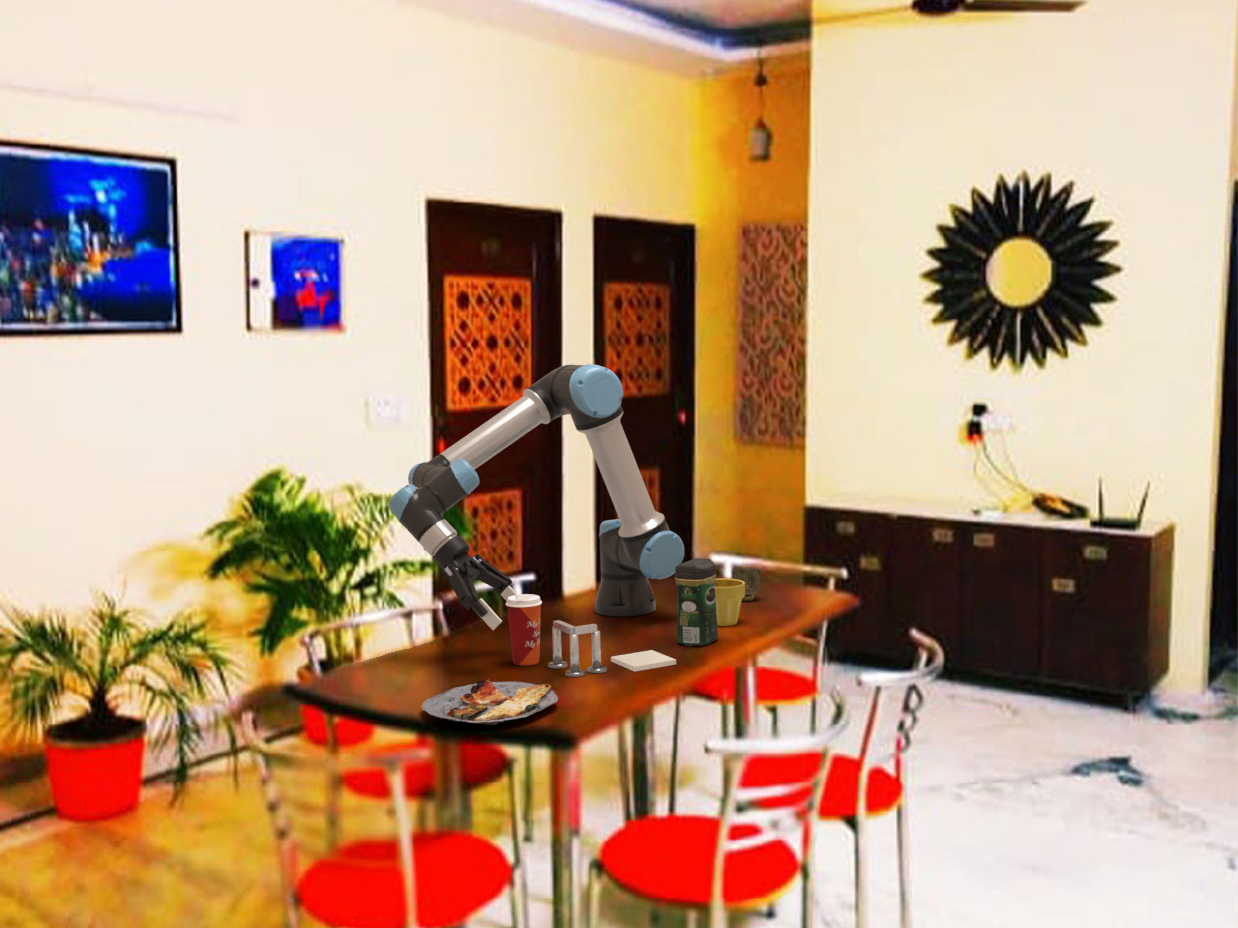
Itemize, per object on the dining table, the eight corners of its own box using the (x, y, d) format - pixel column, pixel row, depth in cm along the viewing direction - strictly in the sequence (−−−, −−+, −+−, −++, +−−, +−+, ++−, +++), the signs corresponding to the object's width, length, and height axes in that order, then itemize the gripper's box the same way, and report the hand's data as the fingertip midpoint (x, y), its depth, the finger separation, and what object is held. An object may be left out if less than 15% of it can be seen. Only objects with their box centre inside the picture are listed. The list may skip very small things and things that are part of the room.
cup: (741, 596, 336) (741, 565, 335) (766, 598, 332) (766, 568, 331) (726, 601, 330) (726, 570, 329) (752, 604, 326) (751, 572, 325)
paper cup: (538, 667, 271) (536, 601, 269) (503, 666, 272) (500, 600, 271) (548, 657, 278) (546, 593, 277) (513, 657, 280) (511, 593, 278)
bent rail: (544, 665, 272) (543, 620, 271) (583, 659, 276) (581, 614, 275) (570, 678, 261) (569, 630, 260) (610, 671, 266) (608, 624, 265)
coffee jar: (691, 635, 295) (689, 554, 293) (722, 638, 291) (721, 557, 289) (670, 644, 287) (668, 561, 285) (702, 648, 283) (700, 564, 281)
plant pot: (753, 625, 303) (752, 583, 302) (712, 629, 300) (711, 588, 299) (734, 616, 313) (733, 576, 312) (694, 620, 309) (693, 580, 308)
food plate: (481, 685, 258) (480, 667, 257) (580, 700, 246) (580, 682, 246) (399, 722, 237) (398, 704, 236) (504, 741, 225) (503, 721, 224)
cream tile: (610, 661, 274) (610, 656, 274) (651, 654, 278) (651, 649, 278) (634, 671, 265) (634, 666, 265) (676, 664, 270) (676, 659, 270)
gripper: (461, 548, 291) (525, 617, 287) (405, 568, 268) (474, 643, 264) (482, 525, 289) (546, 595, 285) (427, 543, 265) (496, 619, 262)
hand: (511, 618), depth 274 cm, fingers open, 13 cm apart
